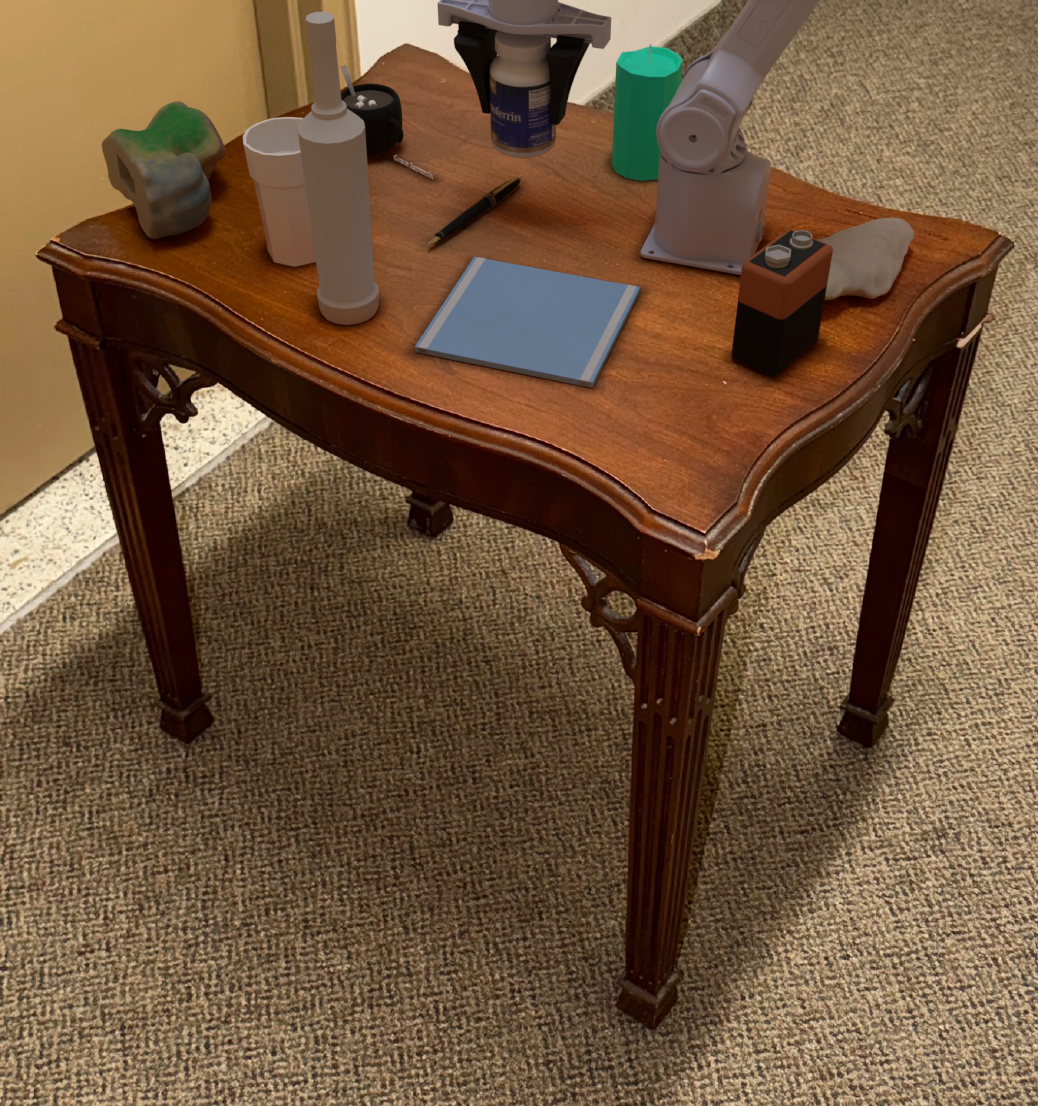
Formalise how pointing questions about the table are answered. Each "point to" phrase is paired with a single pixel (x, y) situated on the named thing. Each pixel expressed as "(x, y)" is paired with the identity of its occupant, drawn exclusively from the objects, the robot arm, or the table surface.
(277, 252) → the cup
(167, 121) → the sculpture
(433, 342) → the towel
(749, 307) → the battery
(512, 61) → the pill bottle
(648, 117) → the candle
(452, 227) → the fountain pen
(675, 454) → the table surface
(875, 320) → the table surface
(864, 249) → the stone tool
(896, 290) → the table surface
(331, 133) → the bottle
